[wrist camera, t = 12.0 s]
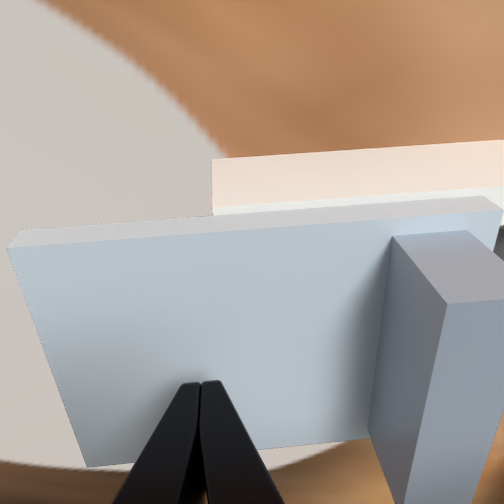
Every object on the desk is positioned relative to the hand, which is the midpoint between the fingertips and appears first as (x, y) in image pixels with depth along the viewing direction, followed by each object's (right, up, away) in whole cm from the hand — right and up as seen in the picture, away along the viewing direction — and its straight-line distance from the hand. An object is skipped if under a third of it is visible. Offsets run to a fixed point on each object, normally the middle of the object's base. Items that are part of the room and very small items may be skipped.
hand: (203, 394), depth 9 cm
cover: (+1, +1, +2) cm, 2 cm away
